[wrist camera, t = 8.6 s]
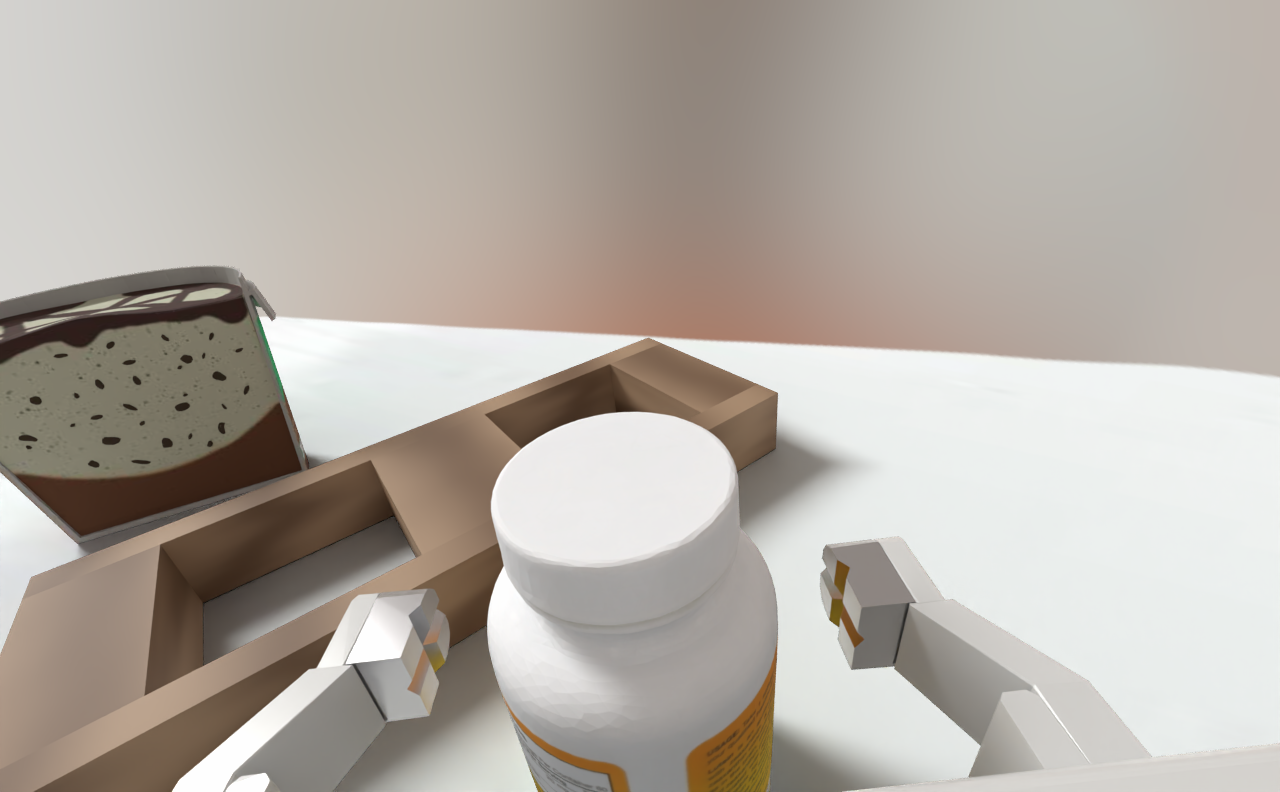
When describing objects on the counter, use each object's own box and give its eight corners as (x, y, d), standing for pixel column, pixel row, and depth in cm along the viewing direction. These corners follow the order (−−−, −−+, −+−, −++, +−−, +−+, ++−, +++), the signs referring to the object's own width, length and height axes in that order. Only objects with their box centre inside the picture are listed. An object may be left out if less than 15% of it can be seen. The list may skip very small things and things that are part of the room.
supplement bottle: (734, 664, 16) (732, 375, 11) (804, 900, 11) (853, 573, 6) (554, 694, 15) (472, 410, 11) (547, 951, 11) (396, 648, 6)
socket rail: (20, 909, 12) (-78, 851, 11) (85, 635, 19) (31, 577, 17) (775, 448, 25) (778, 392, 23) (652, 383, 32) (648, 337, 30)
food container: (343, 412, 32) (273, 248, 27) (341, 463, 27) (254, 274, 22) (90, 481, 28) (-46, 301, 23) (34, 556, 23) (-155, 348, 18)
